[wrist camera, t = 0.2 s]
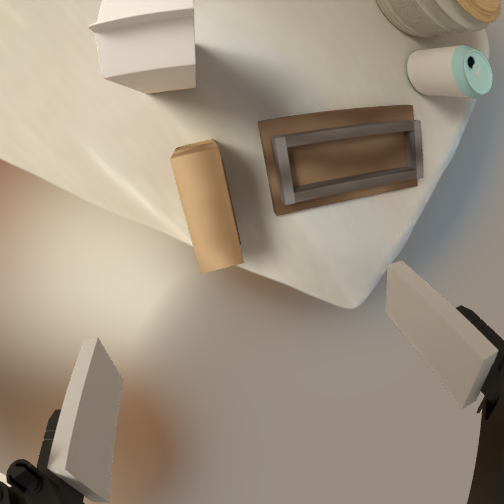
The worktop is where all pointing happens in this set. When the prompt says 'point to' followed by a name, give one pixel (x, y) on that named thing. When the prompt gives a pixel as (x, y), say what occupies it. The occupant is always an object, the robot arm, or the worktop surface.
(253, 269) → the worktop surface
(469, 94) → the can
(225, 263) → the tan wooden block
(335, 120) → the wooden tray
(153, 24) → the milk
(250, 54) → the worktop surface
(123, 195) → the worktop surface
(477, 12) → the jar
